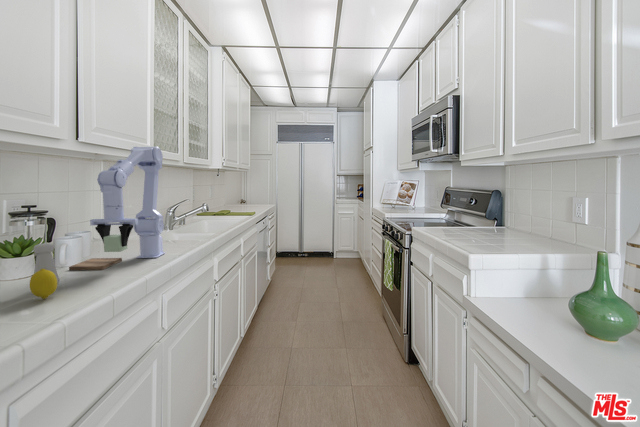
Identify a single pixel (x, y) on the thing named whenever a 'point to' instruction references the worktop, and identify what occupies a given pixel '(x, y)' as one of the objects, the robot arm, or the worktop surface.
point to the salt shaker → (45, 258)
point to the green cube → (113, 244)
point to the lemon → (43, 283)
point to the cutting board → (95, 264)
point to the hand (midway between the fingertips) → (115, 246)
